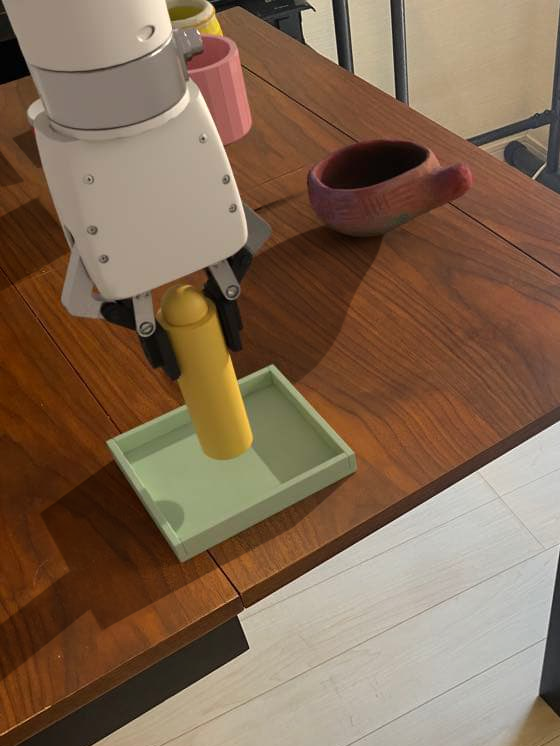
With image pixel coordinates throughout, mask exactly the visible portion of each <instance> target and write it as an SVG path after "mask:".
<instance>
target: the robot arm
mask: <svg viewBox="0 0 560 746" xmlns="http://www.w3.org/2000/svg"><path fill="white" fill-rule="evenodd" d="M1 2H2V5H3V7H4V10H5V12H6V15H7V17H8V20H9V22H10V23H9V24H10V25H11V28H12V30H13V33H14V35H15V37H16V39H17V43H18V45H19V47H20V51H21V53H22V56H23V57H24V60H25V63H26V65H27V69H28V70H29V73H30V76H31V79H32V81H33V84H34V86H35V89H36V91H37V94H38V96H39V99H41V102H42V104H43V107H44V109H45V111H43V112H41V113H39V114H38V115H37V116H36V117H35V119H34V129H35V135H36V139H35V142H36V141H37V142H36V145H37V150H38V154H39V158H40V162H41V166H42V169H43V174H44V176H45V179H46V183H47V187H48V189H49V192H50V193H49V194H50V195H51V196H50V197H51V199H52V202H53V205H54V208H55V211H56V214H57V217H58V219H59V222H60V225H61V228H62V231H63V234H64V237H65V239H66V242H67V244H68V247H69V249H70V252H71V253H70V256H69V261H68V266H67V270H66V274H65V279H64V284H63V288H62V292H61V297H60V302H61V304H62V306H63V307H64V309H65V310H66V311H67V313H68V314H69V315H70V316H71V317H72V316H73V317H78V318H86V319H93V320H94V319H95V320H99V319H100V320H105V321H106V322H108V323H110V324H113V325H116V326H119V327H122V328H126V329H128V330H131V331H134V332H135V333H136V336H137V338H138V341H139V344H140V346H141V349H142V351H143V354H144V357H145V358H146V361H147V362H148V364H149V365H150V367H151V368H152V369H153V370H156V369H158V368H160V367H161V369H162V370H163V371H164V373H165V374H166V376H167V377H168V378H169V379H170V381H171V382H175V381H177V379H179V378H180V377H179V376H181V372H180V369H179V367H178V364H177V361H176V358H175V355H174V352H173V349H172V346H171V344H170V341H169V338H168V335H167V333H166V331H165V330H164V328H163V327H162V326H161V325H160V323H159V322H158V321H157V320H156V316H155V311H154V302H153V294H152V290H154V289H157V288H159V287H161V286H164V285H166V284H169V283H171V282H174V281H176V280H179V279H181V278H183V277H186V276H188V275H191V274H193V273H195V272H197V271H201V270H202V271H203V273H204V274H205V277H206V278H207V280H206V282H204V283H203V284H202V285H203V288H202V294H203V295H204V296H205V297H207V298H209V299H211V300H212V301H213V303H214V304H215V305H216V308H217V312H218V315H219V319H220V323H221V326H222V330H223V333H224V337H225V340H226V344H227V347H228V350H229V351H231V353H236V354H237V353H238V352H241V351H243V350H244V348H243V343H242V339H241V335H240V332H242V331H243V330H245V329H244V322H243V320H242V316H241V311H240V308H239V304H238V300H237V298H238V297H240V295H241V292H242V288H241V286H240V284H241V283H242V281H243V279H244V278H245V275H246V274H247V272H248V270H249V268H250V266H251V264H252V262H253V256H254V255H255V254H257V253H258V251H260V249H261V248H262V247H263V246H264V244H265V243H266V242H267V240H268V239H269V238H270V236H271V235H272V231H273V229H272V226H271V225H270V224H269V223H268V222H267V221H266V220H265V219H264V218H262V217H261V216H260V215H259V214H258V213H256V212H255V210H253V209H252V208H251V207H250V206H248V204H247V203H245V202H244V201H243V200H242V199H241V195H240V192H239V189H238V185H237V182H236V180H235V176H234V172H233V170H232V167H231V164H230V160H229V158H228V155H227V152H226V150H225V146H223V144H222V141H221V139H220V136H219V134H218V131H217V128H216V126H215V124H214V121H213V119H212V116H211V114H210V112H209V109H208V107H207V105H206V103H205V100H204V98H203V96H202V94H201V92H200V90H199V88H198V86H197V85H196V84H195V83H194V82H193V81H192V79H191V78H190V77H189V76H188V72H187V62H188V61H191V60H192V57H194V56H198V55H201V54H203V51H204V49H203V43H202V40H201V37H200V34H199V33H198V31H197V29H196V28H195V27H190V28H187V29H183V30H182V28H175V27H173V26H172V25H171V22H170V18H169V14H168V10H167V6H166V2H165V0H1ZM94 286H95V287H96V289H97V291H98V293H96V291H93V290H94Z"/></svg>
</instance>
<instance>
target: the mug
mask: <svg viewBox="0 0 560 746" xmlns="http://www.w3.org/2000/svg"><path fill="white" fill-rule="evenodd" d="M165 2H166V6H167V10H168V14H169V18H170V22H171V25H172V26H173V27H175V28H182V30H183V29H187V28H190V27H195V28H196V29H197V31H198V33H199V34H215V35H220V36H224V35H223V30H222V27H221V25H220V23H219V21H218V19H217V16H216V8H215V7H214V5H213V4H212V3H210V2H209V1H208V0H165Z"/></svg>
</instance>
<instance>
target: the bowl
mask: <svg viewBox="0 0 560 746" xmlns="http://www.w3.org/2000/svg"><path fill="white" fill-rule="evenodd" d="M473 181H474V180H473V175H472V172H471V169H470V168H469V166H468V165H467V164H464V163H463V162H462V163H455V164H452V165H450V166H448V167H444V166H441V165H440V162H439V160H438V159H437V157H436V155H435V153H434V152H433V150H431V149H430V148H429V147H428V146H426V145H424V144H422V143H420V142H417V141H414V140H409V139H393V138H392V139H391V138H377V139H369V140H368V139H367V140H364V141H358V142H353V143H350V144H347V145H345V146H343V147H340V148H338V149H337V150H335V151H333V152H331V153H330V154H327V155H326V156H324V157H322V159H320V160H318V162H317V163H315V164H314V165H313V166H312V167H311V169H309V170H308V174H307V176H306V187H307V194H308V200H309V202H310V206H311V207H312V209H313V212H314V213H315V215H316V216H317V217H318V219H320V221H322V223H324V225H326V226H327V227H328V228H329V229H331V230H333V231H335V232H337V233H340V234H342V235H346V236H351V237H357V238H371V237H378V236H381V235H385V234H387V233H389V232H391V231H394V230H395V229H397V228H399V227H401V226H403V225H405V224H408V223H409V222H411V221H413V220H414V219H416V218H417V217H420V216H422V215H423V214H426V213H428V212H430V211H432V210H435V209H437V208H440V207H442V206H445V205H446V204H447V205H448V203H451V202H453V201H456V200H458V199H459V198H461V197H463V196H464V195H465V194H466V193H467V192H468V191H469V190H470V189H471V188H472V186H473Z"/></svg>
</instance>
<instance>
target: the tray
mask: <svg viewBox="0 0 560 746" xmlns="http://www.w3.org/2000/svg"><path fill="white" fill-rule="evenodd" d="M237 383H238V386H239V390H240V393H241V397H242V400H243V404H244V407H245V411H246V414H247V418H248V422H249V425H250V429H251V432H252V436H253V440H252V444H251V446H250V447H249V449H248V450H247V451H246V452H245V453H243V454H242V455H240V456H238V457H236V458H233V459H229V460H216V459H212V458H210V457H208V456H207V455H205V454H204V452H203V451H202V448H201V445H200V443H199V440H198V437H197V434H196V431H195V429H194V426H193V423H192V420H191V417H190V415H189V412H188V409H187V406H186V404H183V405H181V406H178V407H177V408H175V409H172V410H171V411H168V412H167V413H164V414H162V415H160V416H157V417H155V418H152V419H150V420H149V421H147V422H145V423H142V424H140V425H138V426H136V427H134V428H132V429H130V430H127V431H125V432H123V433H121V434H119V435H117V436H114V437H112V438H110V439H108V440H106V441H105V444H106V446H107V448H108V450H109V452H110V454H111V456H112V458H113V460H114V461H115V463H116V465H117V466H118V468H119V469H120V471H121V472H122V474H123V475H124V477H125V479H126V480H127V482H128V483H129V485H130V486H131V488H132V490H133V491H134V493H135V494H136V496H137V497H138V499H139V500H140V502H141V503H142V505H143V507H144V508H145V510H146V511H147V512H148V514H149V516H150V517H151V519H152V520H153V522H154V523H155V525H156V527H157V528H158V530H159V531H160V533H161V535H162V536H163V537H164V539H165V541H166V542H167V543H168V545H169V548H171V550H172V552H173V553H174V554H175V556H176V558H177V559H178V561H179V562H180V563H181V564H183V563H185V562H186V561H188V560H190V559H192V558H194V557H196V556H198V555H200V554H201V553H203V552H206V551H207V550H209V549H211V548H213V547H214V546H216V545H219V544H221V543H223V542H225V541H226V540H228V539H230V538H232V537H234V536H235V535H237V534H239V533H242V532H243V531H246V530H247V529H249V528H251V527H252V526H255V525H256V524H259V523H261V522H262V521H265V520H266V519H268V518H270V517H272V516H273V515H275V514H277V513H279V512H281V511H283V510H285V509H287V508H289V507H291V506H293V505H294V504H297V503H298V502H301V501H303V500H304V499H306V498H308V497H310V496H312V495H314V494H316V493H317V492H320V491H321V490H323V489H325V488H327V487H329V486H330V485H332V484H334V483H336V482H338V481H340V480H342V479H344V478H346V477H348V476H349V475H352V474H353V473H355V472H357V471H358V467H357V461H356V455H355V451H353V450H352V449H351V447H350V446H349V445H348V444H347V443H346V442H345V441H344V440H343V439H342V437H340V435H339V434H338V433H337V432H336V431H335V430H334V429H333V428H332V427H331V425H330V424H329V423H327V421H326V420H325V419H324V418H323V417H322V416H321V415H320V414H319V413H318V411H316V409H315V408H314V407H313V406H312V405H311V404H310V403H309V402H308V401H307V400H306V398H305V397H304V396H303V395H302V394H301V393H300V392H299V391H298V390H297V389H296V388H295V387H294V385H292V383H291V382H290V381H289V380H288V379H287V378H286V376H285V375H284V374H282V372H281V371H280V370H279V369H278V368H277V367H276V366H275V365H274V364H273V363H272V364H269V365H268V366H265V367H263V368H261V369H259V370H257V371H255V372H253V373H250V374H248V375H246V376H244V377H242V378H240V379H237Z"/></svg>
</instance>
